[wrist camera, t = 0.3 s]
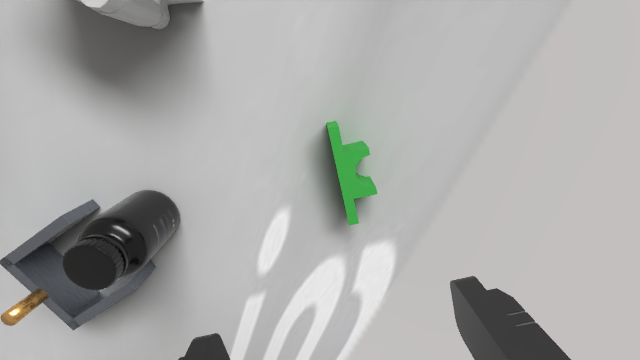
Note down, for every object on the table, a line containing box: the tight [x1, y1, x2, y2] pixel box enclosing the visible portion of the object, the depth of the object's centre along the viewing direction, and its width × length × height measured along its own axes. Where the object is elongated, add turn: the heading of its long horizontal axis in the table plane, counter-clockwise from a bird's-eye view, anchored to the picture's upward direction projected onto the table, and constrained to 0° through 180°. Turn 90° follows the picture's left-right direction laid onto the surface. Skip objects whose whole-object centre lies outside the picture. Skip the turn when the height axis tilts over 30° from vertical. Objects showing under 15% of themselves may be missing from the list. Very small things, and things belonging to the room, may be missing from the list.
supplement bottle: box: [62, 190, 179, 290], centre depth 34 cm, size 7×7×12 cm
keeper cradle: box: [0, 200, 156, 330], centre depth 37 cm, size 10×11×9 cm
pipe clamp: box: [327, 121, 377, 225], centre depth 36 cm, size 11×4×5 cm, turn 13°
